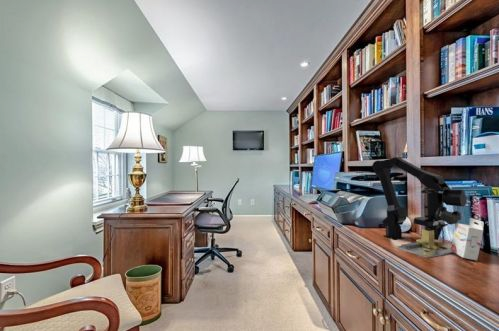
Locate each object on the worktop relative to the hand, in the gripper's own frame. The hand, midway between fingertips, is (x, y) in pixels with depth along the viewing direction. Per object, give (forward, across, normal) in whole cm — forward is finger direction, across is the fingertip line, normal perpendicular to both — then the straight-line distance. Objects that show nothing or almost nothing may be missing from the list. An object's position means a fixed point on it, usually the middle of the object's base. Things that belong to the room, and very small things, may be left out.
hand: (436, 239), depth 108 cm
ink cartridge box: (+3, -2, -12) cm, 12 cm away
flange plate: (+3, -6, -1) cm, 7 cm away
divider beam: (+3, -6, 0) cm, 7 cm away
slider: (+2, -5, 0) cm, 5 cm away
